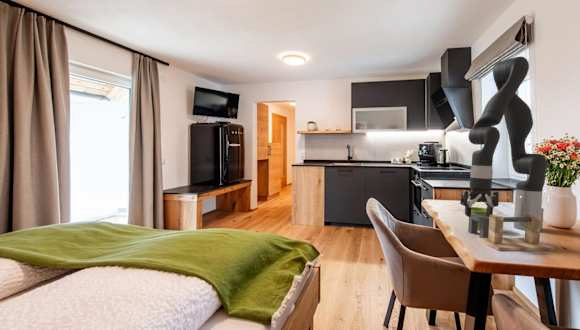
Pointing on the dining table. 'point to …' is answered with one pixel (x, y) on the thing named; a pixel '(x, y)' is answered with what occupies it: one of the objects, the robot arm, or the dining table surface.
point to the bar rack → (514, 243)
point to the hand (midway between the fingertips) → (478, 216)
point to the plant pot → (479, 213)
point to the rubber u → (483, 225)
